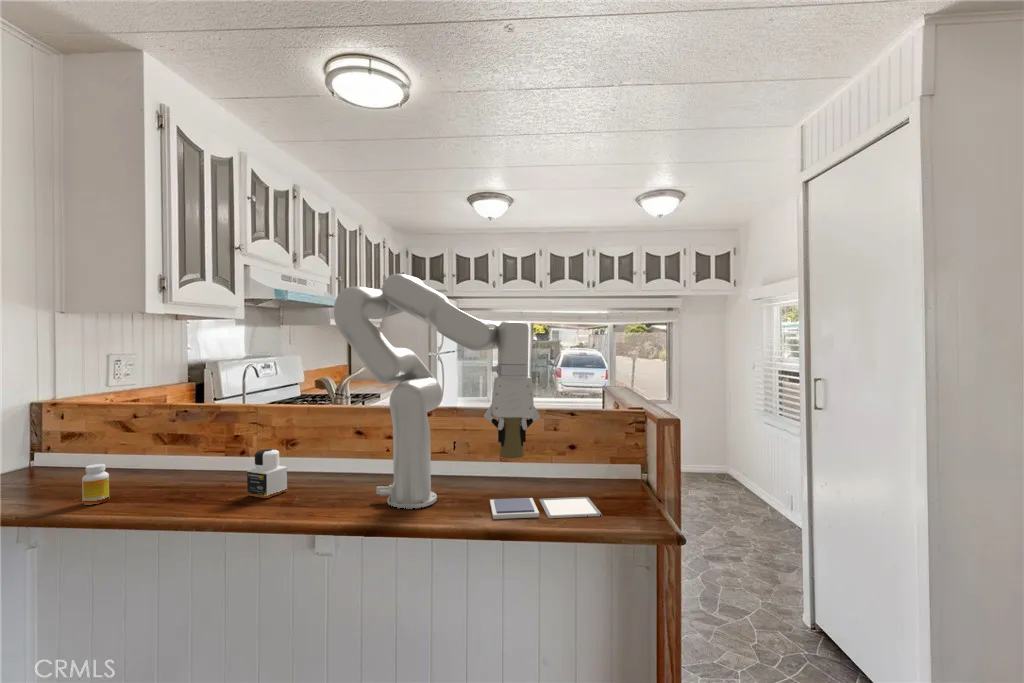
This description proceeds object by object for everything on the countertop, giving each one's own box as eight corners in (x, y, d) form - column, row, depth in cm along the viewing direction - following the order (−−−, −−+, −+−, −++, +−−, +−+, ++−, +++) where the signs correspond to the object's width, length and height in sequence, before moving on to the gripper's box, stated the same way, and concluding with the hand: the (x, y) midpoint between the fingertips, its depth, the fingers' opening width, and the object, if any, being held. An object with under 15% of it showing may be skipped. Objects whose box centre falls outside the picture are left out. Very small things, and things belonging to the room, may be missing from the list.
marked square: (548, 518, 120) (548, 516, 120) (539, 500, 133) (539, 498, 133) (601, 515, 121) (601, 514, 121) (587, 498, 134) (587, 496, 134)
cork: (521, 458, 122) (522, 413, 122) (497, 457, 123) (497, 412, 123) (525, 453, 128) (526, 409, 127) (502, 451, 129) (503, 408, 129)
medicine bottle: (246, 496, 137) (246, 452, 137) (268, 489, 143) (268, 446, 143) (266, 499, 134) (265, 454, 134) (287, 491, 141) (287, 448, 141)
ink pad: (493, 519, 119) (493, 513, 119) (490, 503, 130) (490, 498, 130) (539, 517, 121) (539, 511, 121) (532, 501, 131) (532, 496, 131)
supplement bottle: (111, 502, 132) (110, 465, 132) (84, 507, 128) (83, 469, 128) (107, 497, 136) (106, 461, 136) (81, 502, 132) (80, 465, 132)
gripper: (479, 372, 120) (478, 449, 121) (549, 372, 122) (547, 448, 122) (478, 369, 128) (477, 442, 128) (543, 370, 130) (542, 441, 130)
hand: (511, 444), depth 125 cm, fingers closed on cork, 4 cm apart
